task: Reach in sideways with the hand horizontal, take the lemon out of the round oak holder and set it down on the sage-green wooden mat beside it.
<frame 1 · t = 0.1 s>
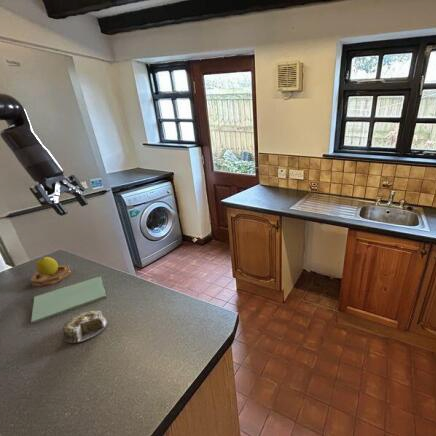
hand: (75, 209, 79), 29 cm above the countertop, tool tilted 20°, fingers open, 8 cm apart
lemon: (51, 275, 92), point 1 cm above the countertop, touching holder
mat: (71, 297, 82), on the countertop
holder: (52, 277, 92), on the countertop
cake: (87, 330, 70), on the countertop
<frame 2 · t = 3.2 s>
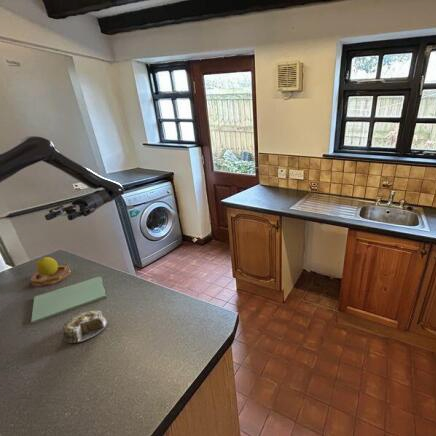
hand: (57, 218, 94), 20 cm above the countertop, tool horizontal, fingers open, 8 cm apart
nothing on the countertop moved.
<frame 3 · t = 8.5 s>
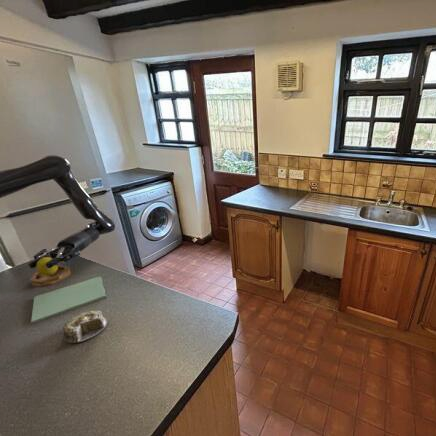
hand: (39, 265, 87), 7 cm above the countertop, tool horizontal, fingers closed on lemon, 5 cm apart
lemon: (51, 275, 92), point 1 cm above the countertop, touching gripper, holder
everything else where it was.
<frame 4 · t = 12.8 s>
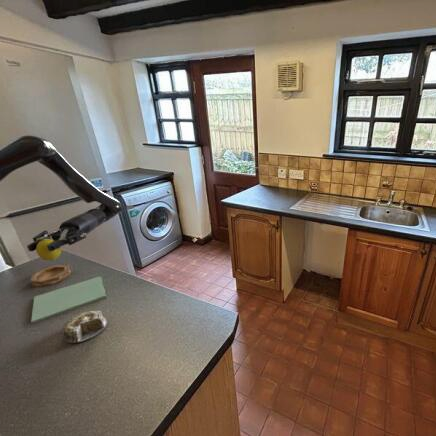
hand: (39, 248, 75), 19 cm above the countertop, tool horizontal, fingers closed on lemon, 5 cm apart
lemon: (53, 260, 80), point 13 cm above the countertop, touching gripper
everything else where it was.
when the fingers open (7 cm above the countertop, at t = 17.2 s): lemon stays where it is, resting on mat.
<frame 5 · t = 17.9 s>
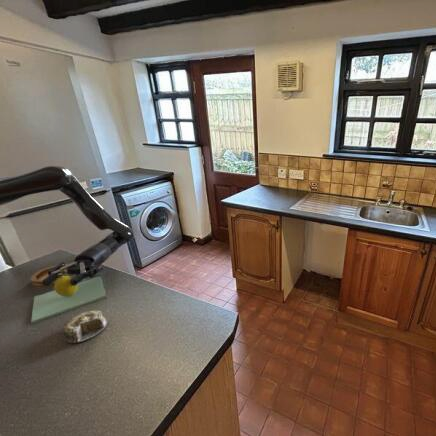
hand: (58, 283, 77), 7 cm above the countertop, tool horizontal, fingers open, 8 cm apart
lemon: (70, 296, 82), point 1 cm above the countertop, touching mat
everything else where it was.
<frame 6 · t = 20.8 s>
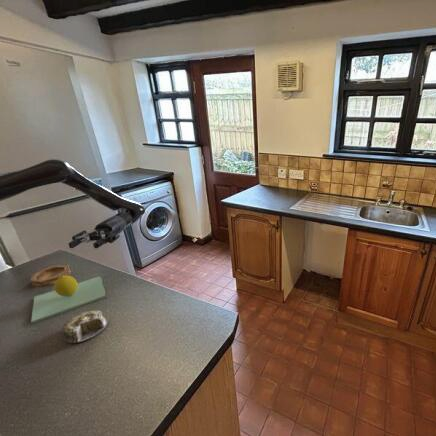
hand: (82, 246, 87), 14 cm above the countertop, tool horizontal, fingers open, 8 cm apart
nothing on the countertop moved.
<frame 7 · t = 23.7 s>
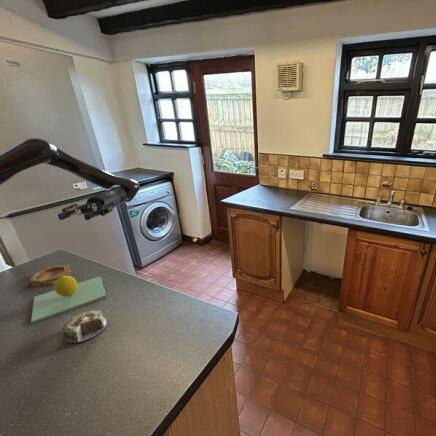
hand: (72, 217, 83), 25 cm above the countertop, tool horizontal, fingers open, 8 cm apart
nothing on the countertop moved.
at the end: lemon inside the target area on the mat (0.1 cm from its centre), point 0.6 cm above the mat's base; lemon touching mat; the gripper is holding nothing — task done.
